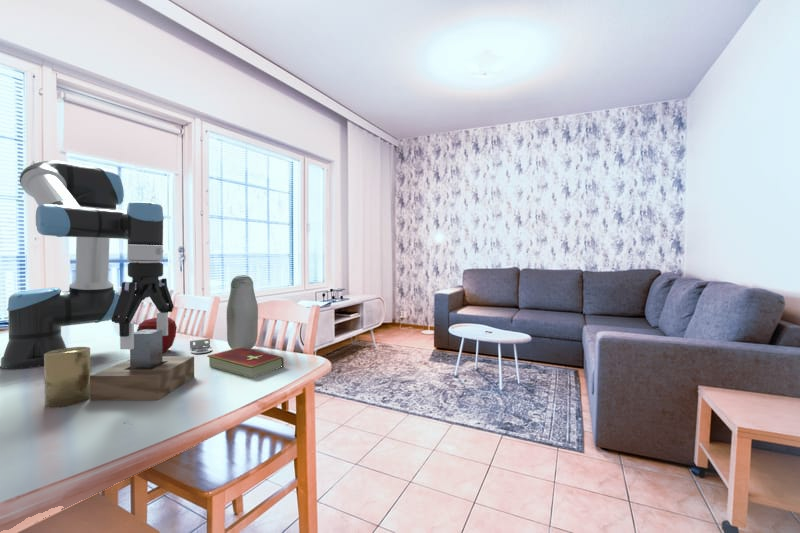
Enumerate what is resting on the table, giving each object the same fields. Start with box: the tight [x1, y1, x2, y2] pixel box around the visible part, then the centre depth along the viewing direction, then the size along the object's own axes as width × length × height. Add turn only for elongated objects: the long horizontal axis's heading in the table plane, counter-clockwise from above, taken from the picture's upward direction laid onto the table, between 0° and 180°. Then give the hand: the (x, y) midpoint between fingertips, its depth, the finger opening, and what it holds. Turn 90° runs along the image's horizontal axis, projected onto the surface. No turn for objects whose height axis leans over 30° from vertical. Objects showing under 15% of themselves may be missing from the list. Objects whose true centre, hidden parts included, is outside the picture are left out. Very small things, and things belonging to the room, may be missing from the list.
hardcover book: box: [207, 347, 285, 379], centre depth 110 cm, size 12×21×4 cm, turn 61°
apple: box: [136, 316, 178, 354], centre depth 124 cm, size 12×12×13 cm
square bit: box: [129, 330, 163, 370], centre depth 92 cm, size 5×5×14 cm
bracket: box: [189, 338, 213, 355], centre depth 127 cm, size 7×10×4 cm, turn 35°
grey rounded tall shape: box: [226, 274, 259, 350], centre depth 127 cm, size 10×10×28 cm
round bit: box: [43, 346, 92, 409], centre depth 84 cm, size 8×8×12 cm
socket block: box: [89, 355, 195, 401], centre depth 92 cm, size 16×16×6 cm
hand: (146, 341), depth 92 cm, fingers open, 13 cm apart
